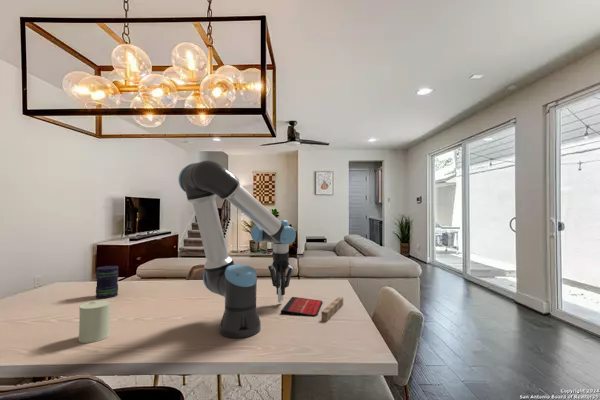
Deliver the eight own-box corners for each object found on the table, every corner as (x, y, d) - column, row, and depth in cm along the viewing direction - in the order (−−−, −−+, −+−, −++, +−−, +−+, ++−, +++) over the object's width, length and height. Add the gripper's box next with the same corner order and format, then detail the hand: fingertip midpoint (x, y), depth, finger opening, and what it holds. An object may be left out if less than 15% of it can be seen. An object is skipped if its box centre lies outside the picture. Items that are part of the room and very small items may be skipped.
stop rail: (327, 321, 122) (327, 312, 122) (321, 320, 123) (321, 311, 123) (343, 304, 143) (343, 297, 143) (338, 304, 144) (338, 296, 144)
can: (104, 329, 113) (105, 297, 113) (113, 336, 107) (114, 302, 107) (74, 337, 105) (75, 303, 106) (83, 345, 100) (83, 309, 100)
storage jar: (104, 293, 161) (105, 265, 162) (122, 293, 161) (122, 265, 161) (90, 298, 151) (91, 269, 152) (109, 299, 151) (110, 269, 151)
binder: (280, 309, 130) (291, 296, 151) (280, 315, 130) (291, 300, 151) (317, 314, 127) (323, 299, 147) (317, 319, 127) (323, 304, 147)
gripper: (296, 251, 145) (296, 301, 144) (272, 250, 150) (272, 297, 150) (289, 254, 138) (289, 305, 138) (265, 252, 144) (264, 302, 143)
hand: (280, 301), depth 144 cm, fingers closed
